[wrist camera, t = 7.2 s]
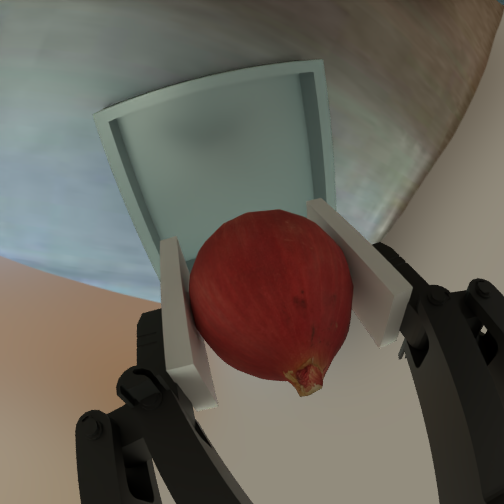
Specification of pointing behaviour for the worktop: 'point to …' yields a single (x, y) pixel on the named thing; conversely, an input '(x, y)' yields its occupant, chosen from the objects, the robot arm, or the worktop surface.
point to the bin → (220, 151)
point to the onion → (273, 297)
